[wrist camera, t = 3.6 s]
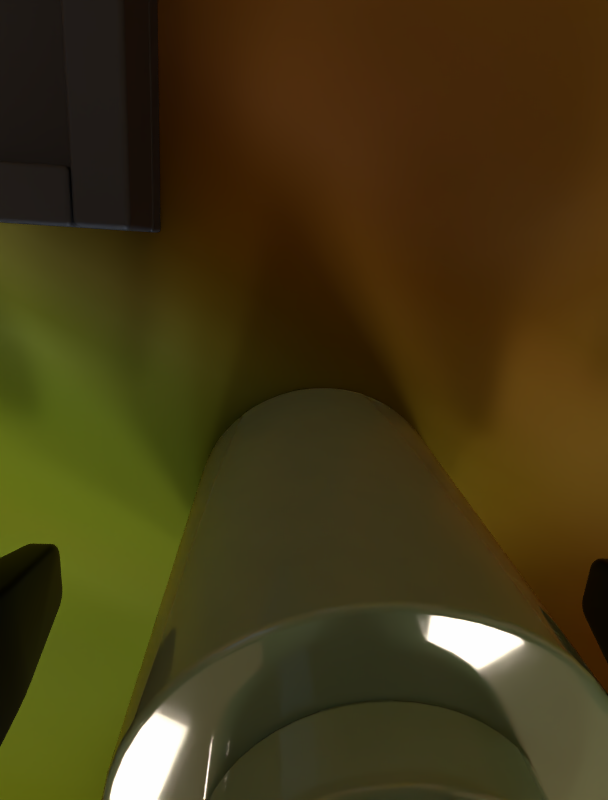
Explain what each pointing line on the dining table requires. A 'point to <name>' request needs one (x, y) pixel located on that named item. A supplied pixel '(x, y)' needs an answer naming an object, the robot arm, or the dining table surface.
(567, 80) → the dining table surface
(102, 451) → the dining table surface
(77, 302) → the dining table surface
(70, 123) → the tray
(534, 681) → the green bottle
